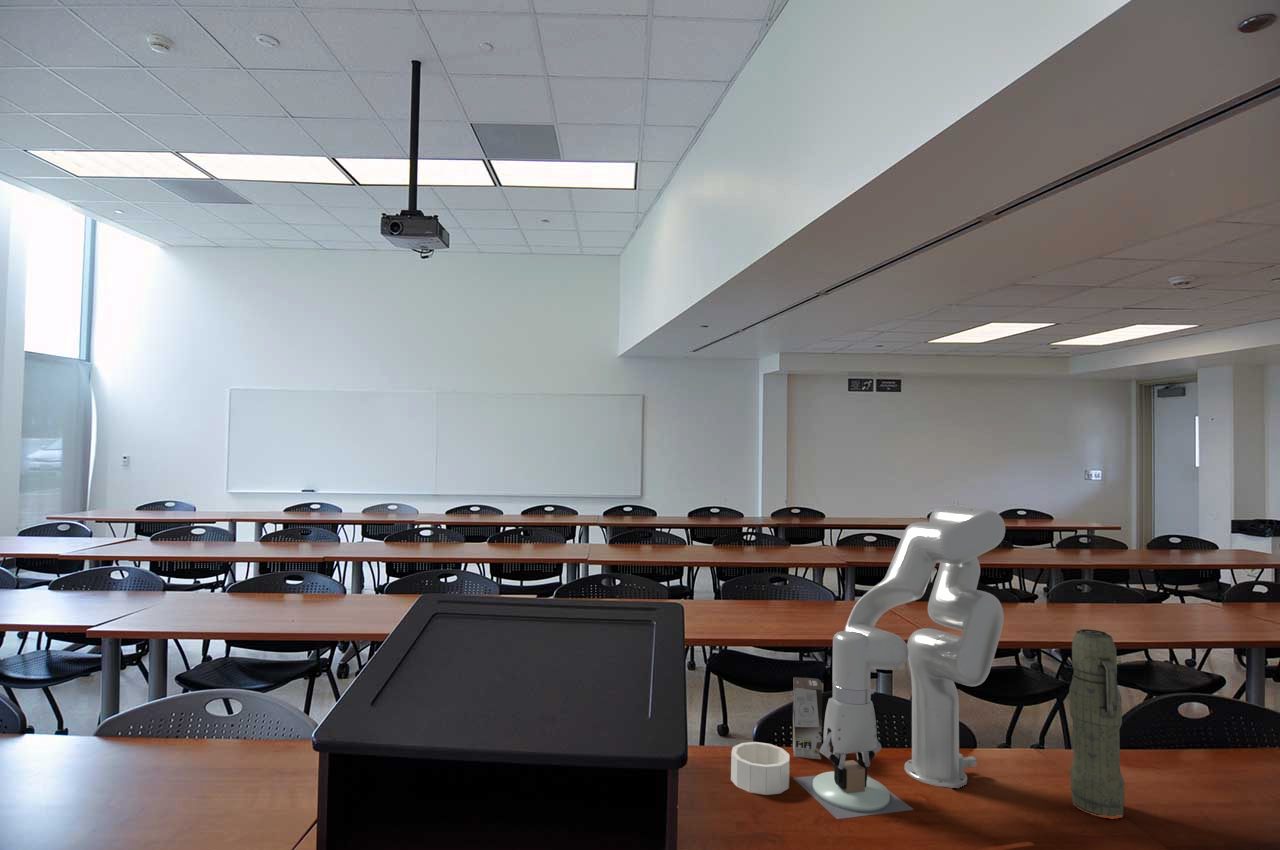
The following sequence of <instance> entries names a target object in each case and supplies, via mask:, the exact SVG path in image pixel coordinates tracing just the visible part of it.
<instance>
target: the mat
mask: <svg viewBox="0 0 1280 850" xmlns="http://www.w3.org/2000/svg"><path fill="white" fill-rule="evenodd" d="M817 775H818V774H817ZM817 775H808V776H798V777H792V779H793V780H794V781H796V782H797V784H799V786H801V787H802V788H803V789H804V790H805V791H806V792H807V793H808V794H809V795H810V796H811V797H813V798H814V799H815V800H816V801H817V802H818V803H819V804H820V805H821V806H822V807H823V808H824V809H825V810H826V811H828V813H830V814H831V815H832V816H833V817H834V818H835V819H837V820H843V819H850V818H859V817H867V816H876V815H882V814H884V815H885V814H891V813H898V812H899V813H900V812H907V811H914V808H912V807H911V806H910V805H909V804H907V803H906V802H905V801H903V800H902V799H901V798H900V797H898V796H896V795H895V794H894V793H893V792H891V791H890V790H889V789H887V790H888V791H889V795H890V801H889V804H888V805H887V806H886V807H885V808H883V809H881V810H877V811H870V812H860V811H852V810H847V809H842V808H839V807H836V806H833V805H831V804H829V803H827V802H825V801H823V800H822V799H820V798H819V797H818V796H817V795H816V794H815V792H814V790H813V780H814V778H815V777H816V776H817ZM867 777H869V778H872V777H871V776H870V775H869V774H867ZM872 779H874V778H872Z"/></svg>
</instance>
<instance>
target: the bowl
mask: <svg viewBox="0 0 1280 850" xmlns="http://www.w3.org/2000/svg"><path fill="white" fill-rule="evenodd" d="M730 754H731V755H730V757H731V760H730V764H731V765H730V781H731V782H732V783H733V785H734V786H736V787H737V788H739V789H741V790H744V791H746V792H747V793H750V794H751V793H752V794H755V795H756V794H758V795H764V796H768V795H769V796H770V795H777V794H782V793H783V792H785V791H787V790H788V789H790V756H791V755H790V754H789V752H787V751H786V750H785V749H784V748H782V747H779V746H777V745H774V744H772V743H766V742H759V741H748V742H741V743H739V744H736V745H735V746H732V749H731V753H730Z"/></svg>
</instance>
